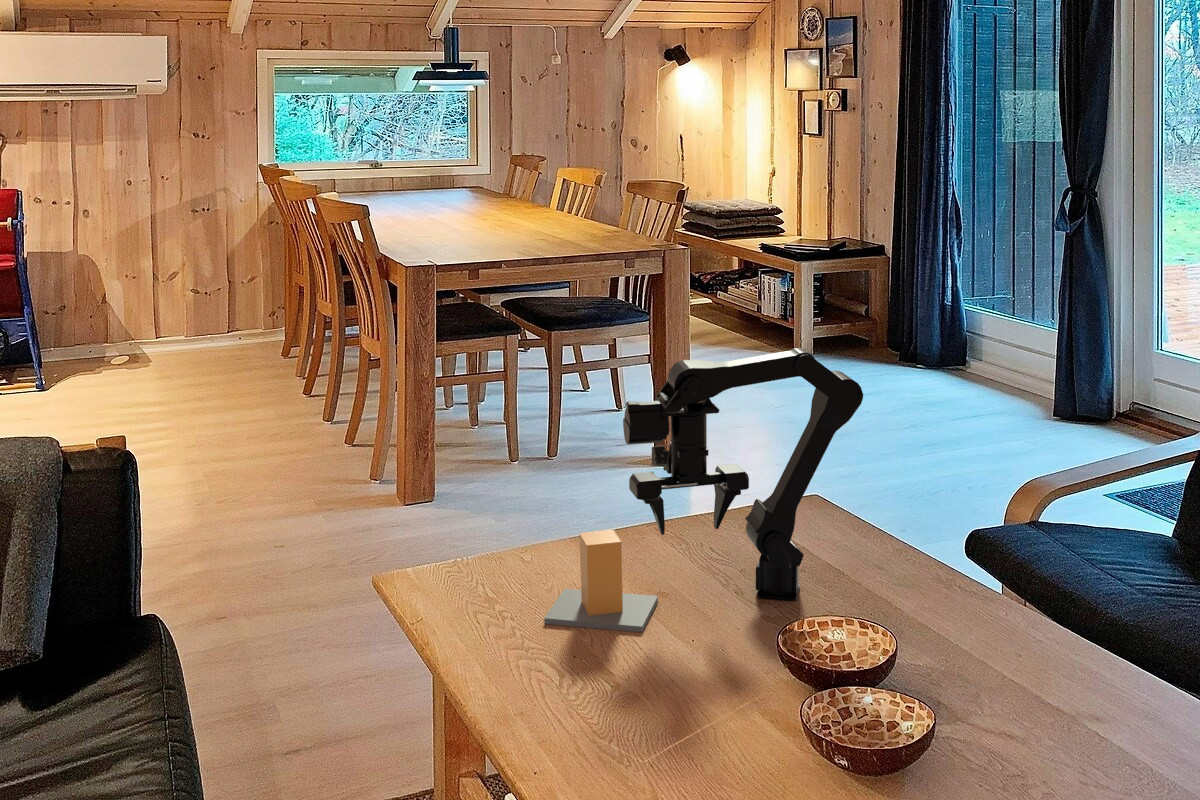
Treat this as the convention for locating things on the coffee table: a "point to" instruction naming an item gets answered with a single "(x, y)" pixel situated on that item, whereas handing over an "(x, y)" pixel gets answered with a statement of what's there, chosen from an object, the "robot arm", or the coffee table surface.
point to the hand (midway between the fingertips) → (689, 531)
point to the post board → (574, 614)
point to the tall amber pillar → (601, 572)
